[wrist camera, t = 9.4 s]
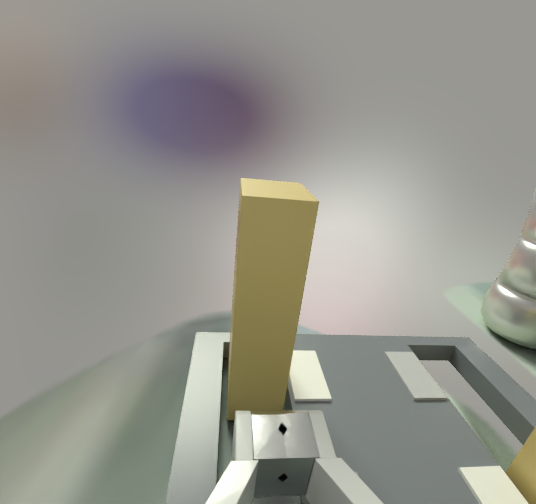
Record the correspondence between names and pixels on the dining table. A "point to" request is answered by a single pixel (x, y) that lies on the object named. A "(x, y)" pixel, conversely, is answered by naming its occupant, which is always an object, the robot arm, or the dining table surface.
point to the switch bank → (369, 416)
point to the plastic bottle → (516, 290)
